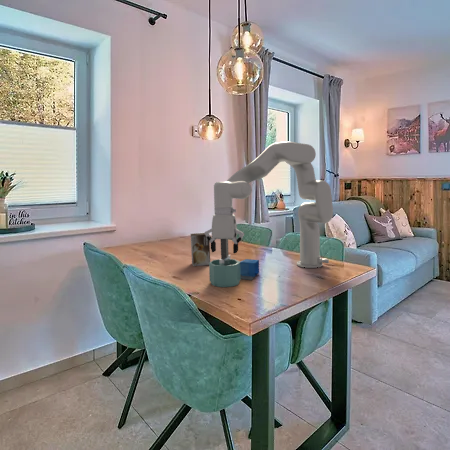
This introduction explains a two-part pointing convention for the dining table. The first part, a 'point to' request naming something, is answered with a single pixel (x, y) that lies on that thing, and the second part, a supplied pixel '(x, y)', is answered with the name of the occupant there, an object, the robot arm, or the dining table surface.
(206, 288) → the dining table surface
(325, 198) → the robot arm
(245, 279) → the rubber mat
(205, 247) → the coffee box
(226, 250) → the brushed metal bar
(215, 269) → the utensil pot
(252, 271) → the perfume bottle
